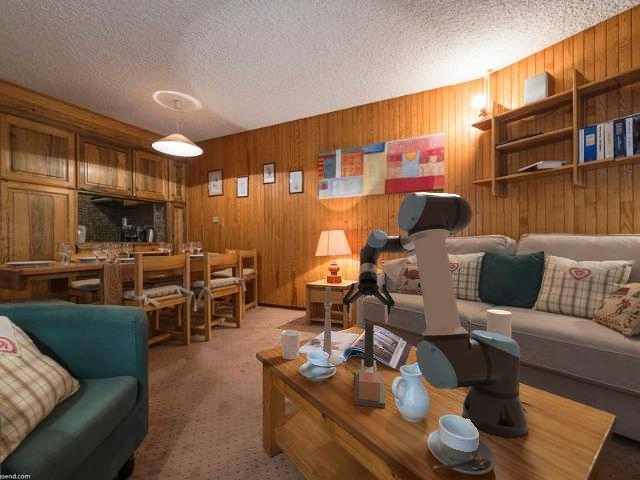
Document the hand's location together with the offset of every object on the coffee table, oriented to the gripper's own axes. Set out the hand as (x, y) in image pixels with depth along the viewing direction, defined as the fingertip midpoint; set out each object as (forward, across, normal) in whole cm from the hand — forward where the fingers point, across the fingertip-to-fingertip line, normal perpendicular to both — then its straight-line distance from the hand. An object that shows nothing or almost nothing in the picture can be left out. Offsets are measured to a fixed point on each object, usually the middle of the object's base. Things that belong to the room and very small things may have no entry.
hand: (368, 320), depth 113 cm
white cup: (+8, +32, -18) cm, 37 cm away
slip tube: (+19, 0, -4) cm, 19 cm away
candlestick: (+9, +16, -17) cm, 25 cm away
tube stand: (+23, 0, -3) cm, 23 cm away
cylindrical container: (+17, -43, -9) cm, 48 cm away
